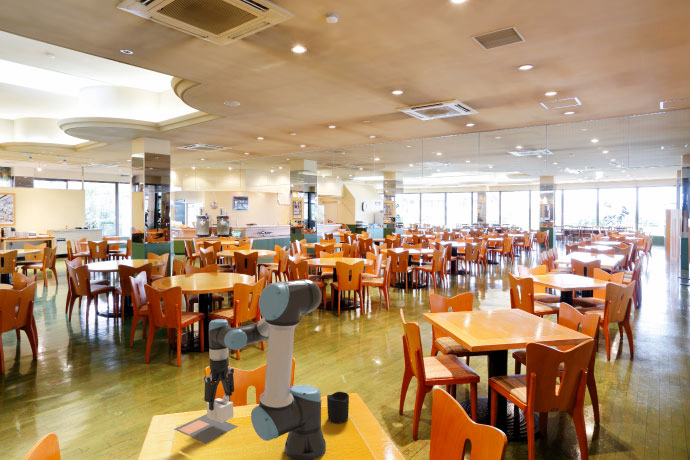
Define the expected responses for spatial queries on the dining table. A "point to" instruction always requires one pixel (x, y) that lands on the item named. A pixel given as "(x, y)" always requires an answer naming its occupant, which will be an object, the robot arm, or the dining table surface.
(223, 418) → the white box
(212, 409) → the robot arm
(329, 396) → the pen holder
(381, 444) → the dining table surface
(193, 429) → the mat
